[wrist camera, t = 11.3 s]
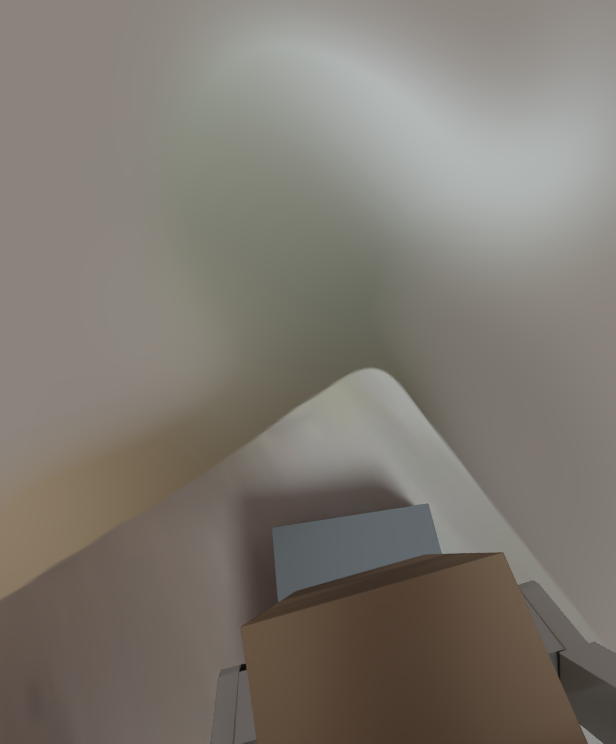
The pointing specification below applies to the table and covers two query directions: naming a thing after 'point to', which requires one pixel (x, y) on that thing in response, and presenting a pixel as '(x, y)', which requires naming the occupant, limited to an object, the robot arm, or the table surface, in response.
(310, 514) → the table surface
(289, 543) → the slate block
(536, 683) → the walnut block
